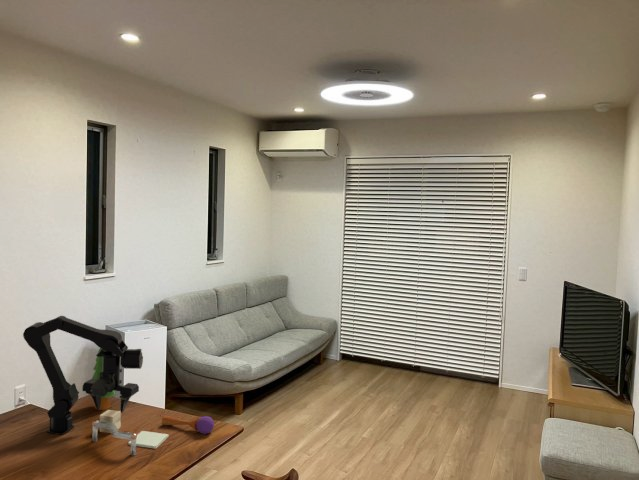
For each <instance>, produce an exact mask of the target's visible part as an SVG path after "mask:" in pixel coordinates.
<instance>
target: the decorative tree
mask: <svg viewBox="0 0 639 480" xmlns="http://www.w3.org/2000/svg"><path fill="white" fill-rule="evenodd" d="M101 349H102V348H100V347H99V349H98V351H97V354H98V353H99V352H100V351H101ZM95 362H96V363H95V364H94V367H93V370H94V373H93V376H92V377H91V379H99V377H100V372H102V369H103V357H97V356H96V359H95ZM115 393H116V391H114V390H113V391H112V392H107V394H106V395H105V396H101V405H100V409H99V410H102V411H105V410H109V409H111V408H112V405H111V404H110V400H109V398H110V397H113V396H115V395H116V394H115ZM94 409H96V410H97V408H96V406H95V405H94ZM99 410H98V411H99Z"/></svg>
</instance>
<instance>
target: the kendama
mask: <svg viewBox="0 0 639 480" xmlns="http://www.w3.org/2000/svg"><path fill="white" fill-rule="evenodd" d="M161 425H162V426H179V425H180V426H184V425H185V426H189V427H190V428H192V429H194V431H198V432H199V433H201V434H204V435H207V434H209V433H211V432H212V431H213V430H214V426H215V423H214V420H213V418H212V417H210V416H207V415H205V416H201V417H197V418H195V419H192V420H186V419H185V420H184V419H180V418H177V417H172V416H169V415H163V417H162V418H161Z"/></svg>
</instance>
